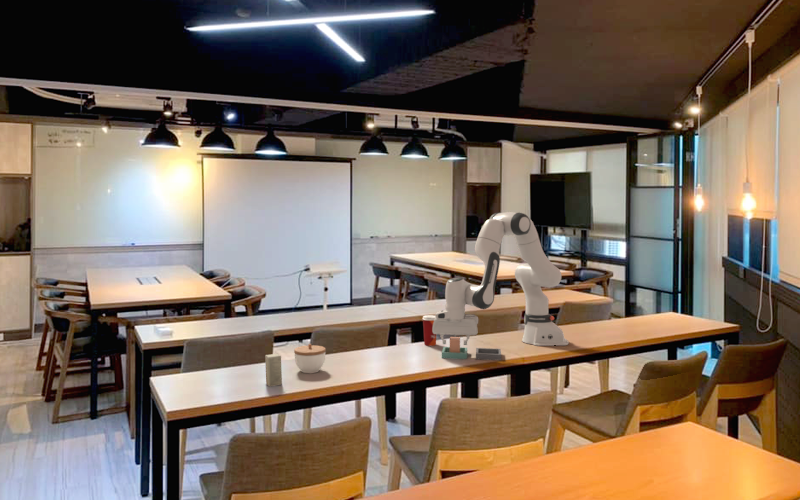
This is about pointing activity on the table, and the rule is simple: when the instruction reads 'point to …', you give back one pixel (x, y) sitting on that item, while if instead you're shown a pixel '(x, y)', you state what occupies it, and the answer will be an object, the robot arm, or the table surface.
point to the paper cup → (429, 330)
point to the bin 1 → (454, 353)
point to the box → (273, 370)
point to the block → (455, 344)
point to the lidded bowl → (309, 358)
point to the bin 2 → (488, 354)
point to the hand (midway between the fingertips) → (454, 344)
